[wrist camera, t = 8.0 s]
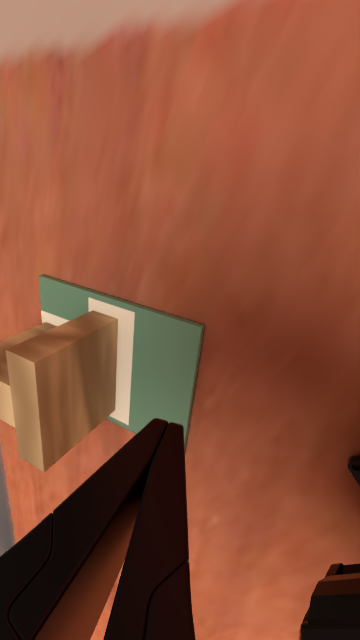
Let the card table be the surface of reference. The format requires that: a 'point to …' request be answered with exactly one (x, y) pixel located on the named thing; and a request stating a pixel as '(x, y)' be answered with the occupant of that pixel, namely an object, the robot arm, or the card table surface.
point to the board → (137, 353)
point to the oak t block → (58, 384)
